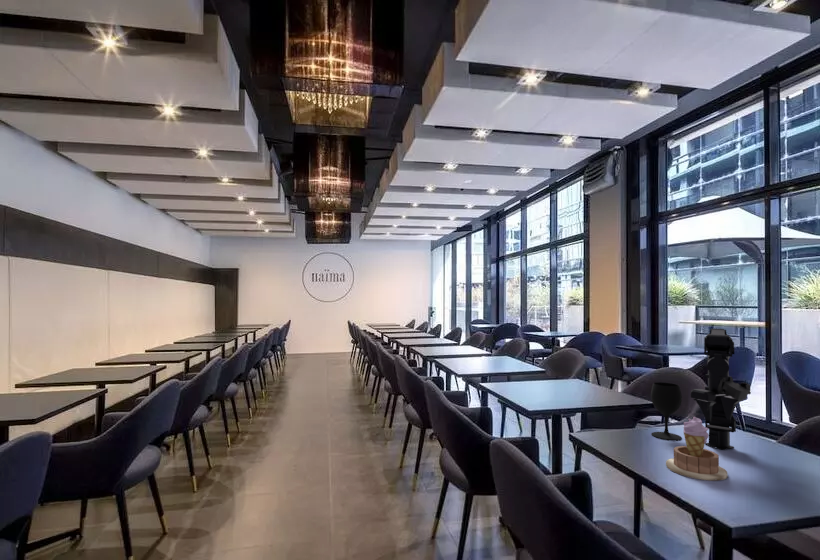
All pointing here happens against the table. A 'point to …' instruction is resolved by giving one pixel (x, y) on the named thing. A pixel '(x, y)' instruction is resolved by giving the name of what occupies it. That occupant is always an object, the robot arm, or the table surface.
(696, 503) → the table surface
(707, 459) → the cone stand
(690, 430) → the ice cream cone
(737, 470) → the table surface
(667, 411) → the wine glass
